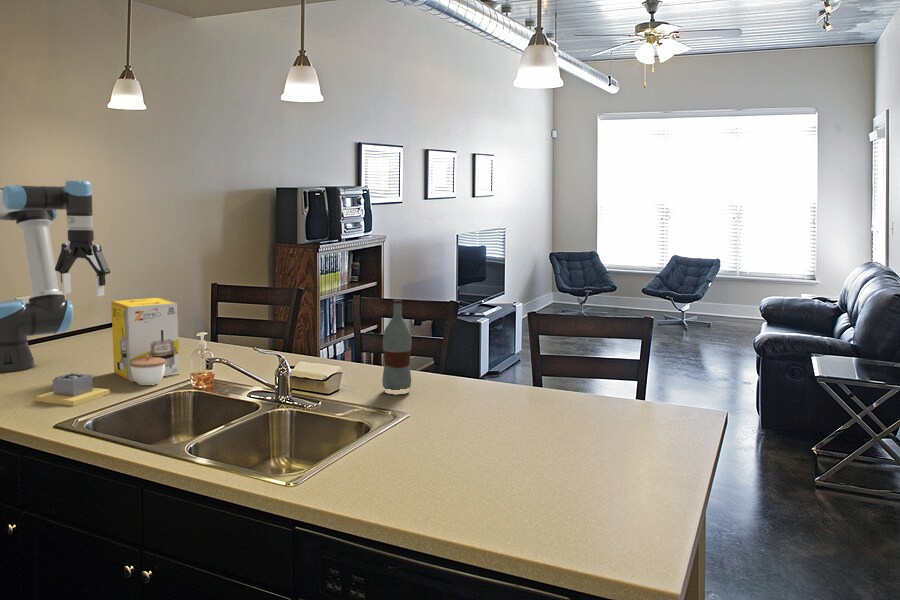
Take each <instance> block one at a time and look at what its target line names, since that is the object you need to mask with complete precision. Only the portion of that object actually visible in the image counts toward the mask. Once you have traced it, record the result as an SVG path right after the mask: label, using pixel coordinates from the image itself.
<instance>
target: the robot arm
mask: <svg viewBox="0 0 900 600" xmlns="http://www.w3.org/2000/svg"><path fill="white" fill-rule="evenodd" d="M58 210H59V211H60V210H61V211H62V210H64V211H65V210H66V223H67V224H66V226H67V228H68V230H67V241H68V242H65V243H61V250H60V253H59V256H58V259H57V262H56V264H55V258H54V252H53V251H54V250H53V245H52V238H51V234H50V227H51V226H53V224H54V223H53V221H54V220H56V219H57V215H58ZM93 214H94V213H93V190H92V184H91V182H90V181H88V180H66V181H65V184H64V186H63V185H62V186H52V185H49V186H48V185H45V186H44V185H43V186H41V185H38V186H37V185H19V184H14V185H6V186H4V187H0V220H1V221H15V222H16V223H15V224H16V227H17V228H19V229H20V230H21V231H22V235H23V243H24V248H25V255H26V260H27V267H28V273H29V274H28V275H29V280H30V286H31V293H32V294H31V295H30V297H28V302H26V301H25V299H10V300H3V301H0V373H8V372H18V370H19V371H23V369H24V370H27V368H28V369H31V368H34V366H35V358H34V357H33V354H32V351H31V349H30V347H29V343H28V337H30V336H40V335H49V334H58V333H65V332H67V331H68V330H70V328H71V327H72V323H73V320H74V306H73V303H72V301H71V300H68V299H66V297H65V294H71V293H72V283H71V282H72V281H71V273H70V269H71V268H72V267H73V265H74V263H75V262H76V261H77V259H79V258H80V259H85V260H87V261H88V263H89V264H90V266H91V268H92V269H93V271H94V272H95V273H96V275H95V295H96V297H102V296H103V297H104V296H105V286H106V276H107V275H109V274H111V270H110V269H111V268H110V267H109V265H108V263H107V261H106V258H105V256H104V253H103V251H102V245H101V244H93V241H94V240H95V237H94V234H95V233H94V230H93V228H94V217H93V216H94V215H93ZM57 272H58V273H59V274H60V282H61V284H62V285H61V286H62V292H61V291H60V290H59V288H60V287H59V282H58V277H57ZM30 367H31V368H30Z"/></svg>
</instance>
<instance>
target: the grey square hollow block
mask: <svg viewBox="0 0 900 600" xmlns="http://www.w3.org/2000/svg"><path fill="white" fill-rule="evenodd" d="M69 376H77V378H75V379H68V377H69ZM93 385H94V384H93V375H92V374H86V373H85V374H84V373H78V372H77V373H75V372H71V373H67V374H64V375H60V376H57V377H53V378H52V388H53V393H54V395H61V396H69V397H76V396H79V395H82V394H85V393H88V392H91V391H93V388H94V386H93Z"/></svg>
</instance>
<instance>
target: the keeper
mask: <svg viewBox="0 0 900 600" xmlns="http://www.w3.org/2000/svg"><path fill="white" fill-rule="evenodd" d="M75 378H77V376H69V377H68V379H75ZM110 392H111V391H110V389H108V388H99V387H93V391H91V392H88V393H85V394H82V395H79V396H76V397H69V396H61V395H54V393H53V391H50V392H46V393H42V394H39V395H36V396H35V397H36V398H35V399H36V402H40V401H41V402H40V403H48V404H56V405H62V404H63V405H64V406H70V405H71V406H73V407H76V406H79V405H81V404H80V403H82V404H84V403H83V402H85V403H87V402H86V401H88V402H90V401H89V400H91V401H93V400H92V399H94V400H96V399H95V398H97V397H100V398H102V397H101V396H103V397H105V396H104V395H106V396H108V395H107V394H109V395H110ZM97 399H98V398H97ZM78 404H79V405H78ZM75 405H76V406H75ZM71 406H70V407H71Z"/></svg>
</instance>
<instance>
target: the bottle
mask: <svg viewBox="0 0 900 600" xmlns="http://www.w3.org/2000/svg"><path fill="white" fill-rule="evenodd" d="M392 301H393V310H392V311H393V312H392V315H393V317H391V319H390V321H389V323H388V324H387V326H386V327H385V329H384V331H383V336H382V337H383V338H382V349H383V362H384V363H383V365H384V366H383V373H382V381H381V382H382V388H383V387H384V388H385V389H391V390H400V389H407V388H409V387H410V388H411V385H412V376H411V375H412V374H411V366H410V363H411V353H412V352H411V350H412V333H411V329H410V328H409V326H408V325H407V323H406V322H405V320H404V318H403V316H402V311H403V310H402V307H403V305H402V302H403V300H402V299H393V300H392Z"/></svg>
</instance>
